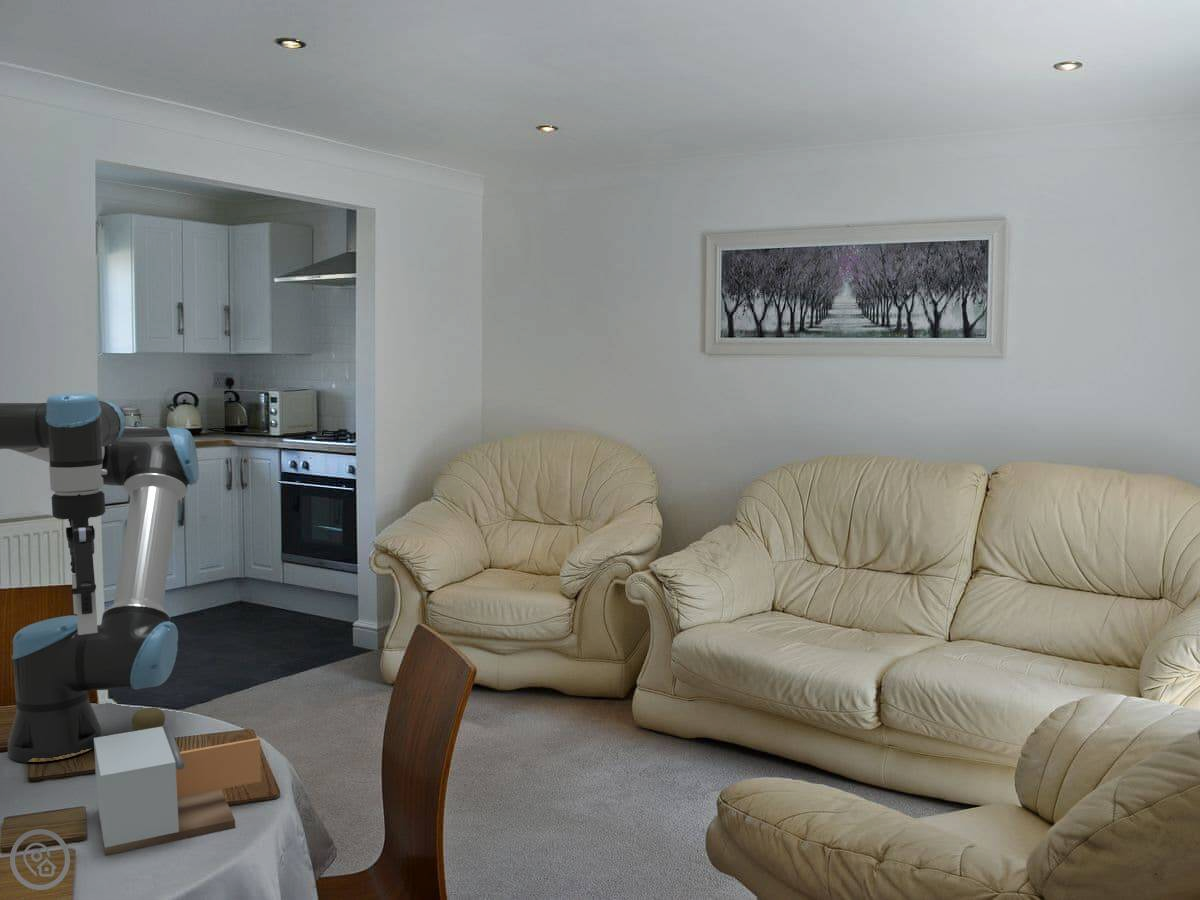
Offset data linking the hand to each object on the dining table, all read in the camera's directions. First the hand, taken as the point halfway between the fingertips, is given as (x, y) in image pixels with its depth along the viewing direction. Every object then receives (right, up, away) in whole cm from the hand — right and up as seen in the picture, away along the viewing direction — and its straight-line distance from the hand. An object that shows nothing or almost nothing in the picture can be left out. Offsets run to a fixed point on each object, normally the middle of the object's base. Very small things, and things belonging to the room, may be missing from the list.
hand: (85, 622), depth 168 cm
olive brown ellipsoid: (+6, -28, +12) cm, 31 cm away
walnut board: (+15, -30, -5) cm, 34 cm away
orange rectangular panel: (+21, -26, -3) cm, 33 cm away
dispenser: (+12, -29, -7) cm, 32 cm away
